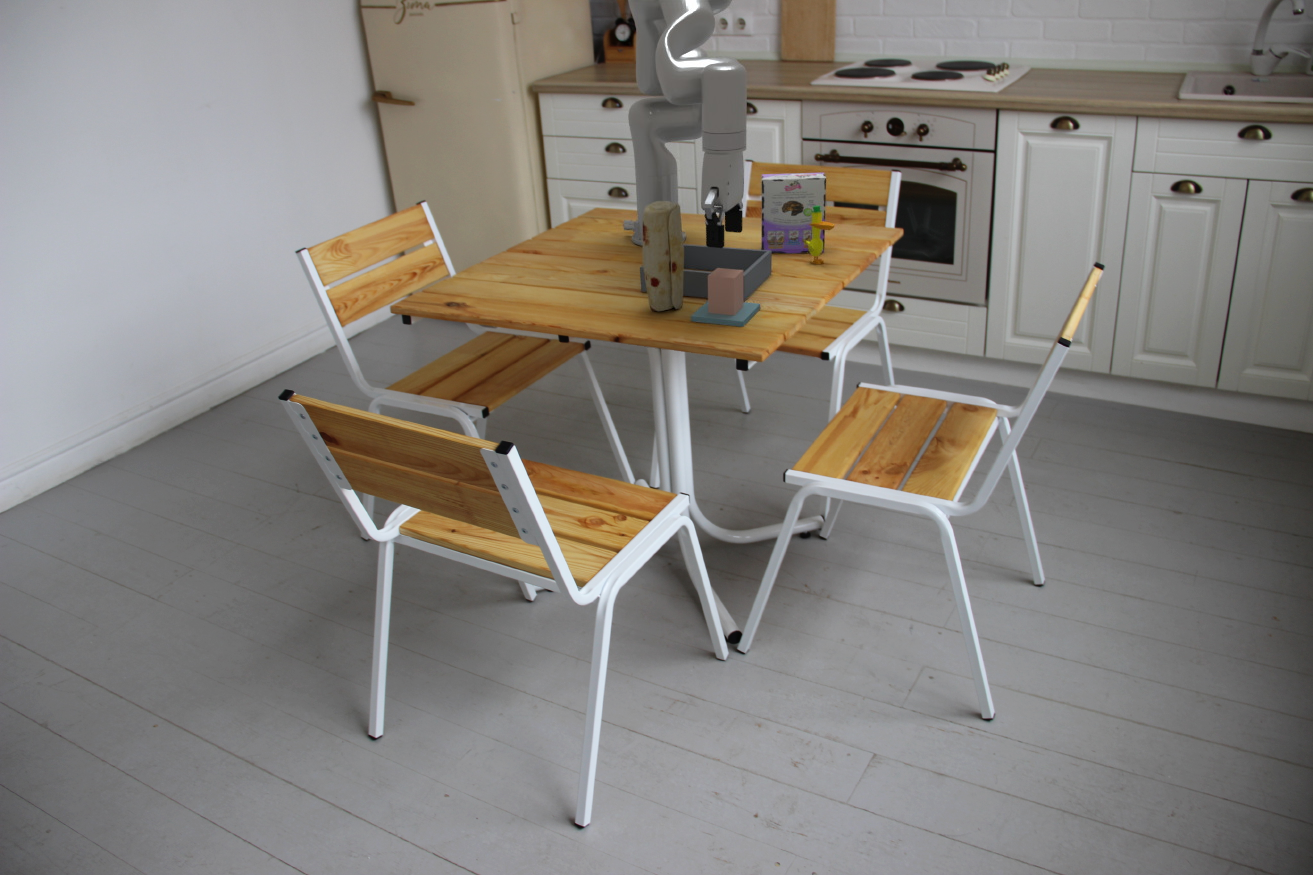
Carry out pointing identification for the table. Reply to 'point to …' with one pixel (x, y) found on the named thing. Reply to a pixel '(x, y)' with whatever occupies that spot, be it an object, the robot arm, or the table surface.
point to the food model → (663, 255)
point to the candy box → (790, 210)
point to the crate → (711, 258)
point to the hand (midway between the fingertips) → (724, 239)
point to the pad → (735, 320)
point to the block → (725, 291)
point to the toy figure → (817, 234)
